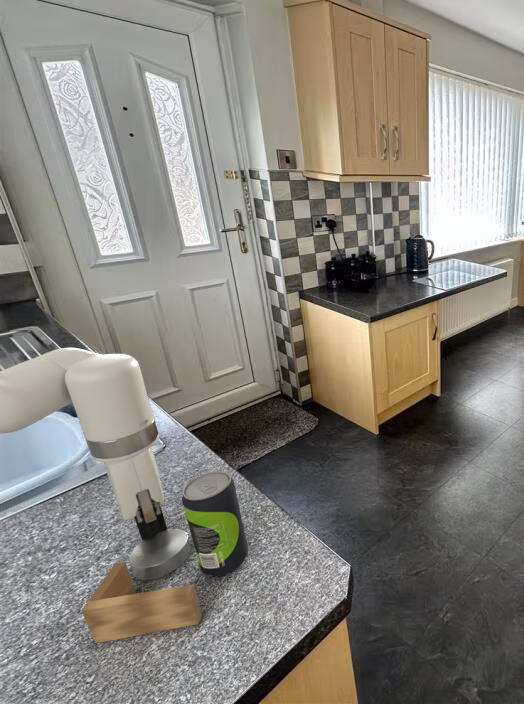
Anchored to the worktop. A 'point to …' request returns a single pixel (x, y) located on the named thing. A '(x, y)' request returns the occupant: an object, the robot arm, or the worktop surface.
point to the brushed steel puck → (160, 554)
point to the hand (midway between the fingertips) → (154, 532)
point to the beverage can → (215, 522)
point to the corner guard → (137, 608)
